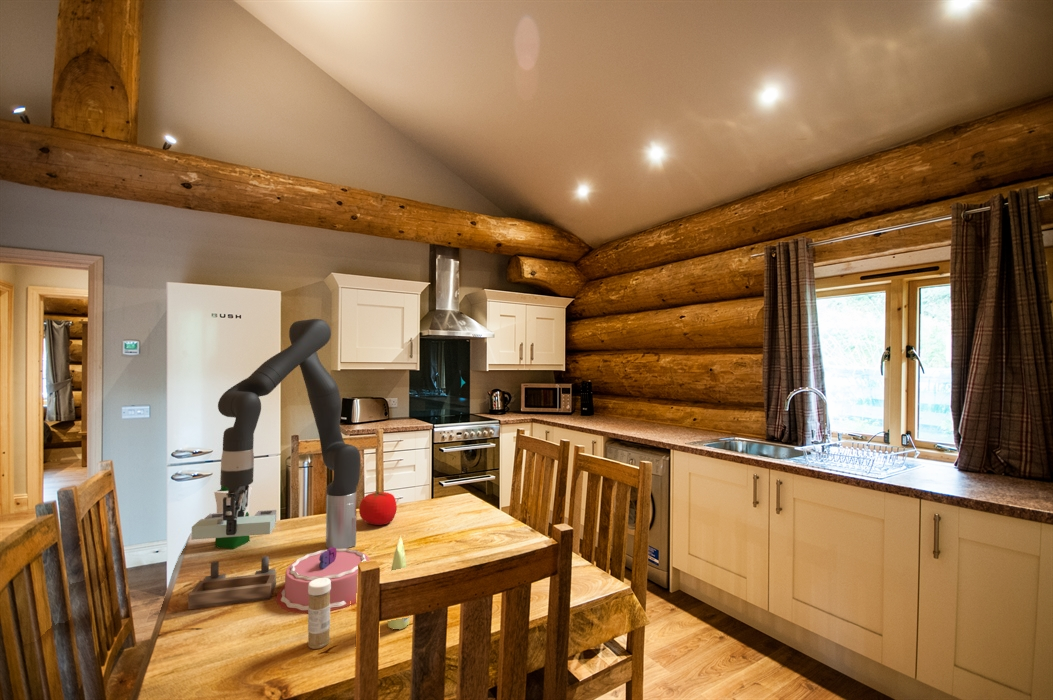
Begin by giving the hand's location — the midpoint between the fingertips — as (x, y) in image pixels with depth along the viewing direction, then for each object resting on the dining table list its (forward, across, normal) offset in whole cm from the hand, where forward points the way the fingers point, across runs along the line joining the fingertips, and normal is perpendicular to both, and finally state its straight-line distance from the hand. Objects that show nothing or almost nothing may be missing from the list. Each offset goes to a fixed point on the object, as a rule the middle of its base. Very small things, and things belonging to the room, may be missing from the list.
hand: (235, 529), depth 128 cm
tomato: (+16, +45, -36) cm, 60 cm away
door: (+1, +2, 0) cm, 2 cm away
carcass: (+16, -2, -1) cm, 16 cm away
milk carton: (+16, +36, +10) cm, 40 cm away
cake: (+17, -4, -24) cm, 29 cm away
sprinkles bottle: (+16, -30, -25) cm, 42 cm away
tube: (+16, -27, -42) cm, 52 cm away
